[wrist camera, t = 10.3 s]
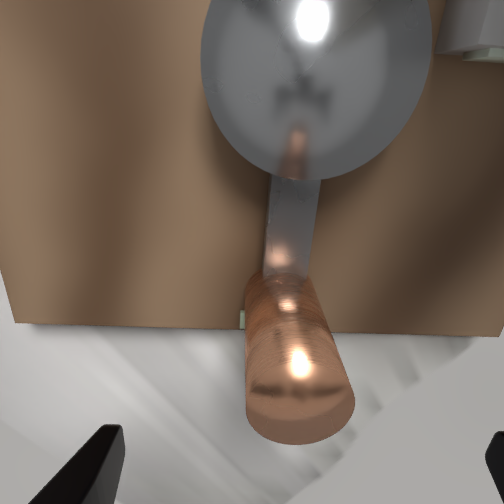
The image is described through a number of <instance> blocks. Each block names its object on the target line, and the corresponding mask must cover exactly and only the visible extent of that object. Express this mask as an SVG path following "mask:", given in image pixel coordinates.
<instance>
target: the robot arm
mask: <svg viewBox="0 0 504 504" xmlns="http://www.w3.org/2000/svg"><path fill="white" fill-rule="evenodd" d="M124 458H125V443H124V436H123V429H122V426H121V425H117V424H106V425H103V426H101V427H100V428H99V429H98V430H97V431H96V432H95V434H94V435H93V436H92V437H91V438H90V439H89V440H88V441H87V442H86V443H85V444H84V445H83V446H82V447H81V448H80V449H79V450H78V451H77V453H76V454H75V455H74V456H73V457H72V458H71V459H70V460H69V461H68V462H67V463H66V464H65V465H64V466H63V467H62V469H60V471H59V472H58V473H57V474H56V475H55V476H54V477H53V478H52V479H51V480H50V481H49V482H48V483H47V484H46V486H44V487H43V489H42V490H41V491H40V492H39V493H38V494H37V495H36V496H35V497H34V498H33V499H32V500H31V501H30V502H29V503H28V504H114V501H115V497H116V492H117V488H118V484H119V479H120V475H121V471H122V467H123V462H124ZM485 460H486V464H487V466H488V468H489V471H490V473H491V475H492V478H493V480H494V482H495V484H496V487H497V489H498V492H499V494H500V496H501V499H502V501H503V503H504V431H498V432H496V433H495V434H494V436H493V438H492V440H491V443H490V444H489V446H488V448H487V451H486V453H485Z"/></svg>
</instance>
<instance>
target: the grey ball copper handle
mask: <svg viewBox="0 0 504 504" xmlns="http://www.w3.org/2000/svg"><path fill="white" fill-rule="evenodd" d="M431 49H432V24H431V17H430V11H429V5H428V1H427V0H211V2H210V5H209V8H208V11H207V15H206V18H205V21H204V27H203V32H202V38H201V52H200V63H201V77H202V82H203V88H204V93H205V96H206V99H207V103H208V106H209V109H210V111H211V113H212V115H213V118H214V120H215V122H216V124H217V125H218V127H219V129H220V131H221V132H222V134H223V135H224V136H225V138H226V139H227V140H228V142H229V143H230V144H231V145H232V147H233V148H234V149H235V150H236V151H237V152H238V153H239V154H240V155H242V156H243V157H244V158H245V159H247V160H248V161H249V162H251V163H252V164H254V165H255V166H257V167H259V168H260V169H262V170H264V171H266V172H269V173H270V178H269V190H268V201H267V213H266V224H265V236H264V248H263V259H262V268H261V269H260V270H258V271H257V272H256V273H255V274H253V275H252V277H251V278H250V279H249V281H248V283H247V285H246V288H245V376H246V415H247V418H248V421H249V423H250V424H251V426H252V427H253V428H254V430H255V431H257V432H258V433H259V434H260V435H262V436H263V437H265V438H267V439H269V440H271V441H274V442H277V443H281V444H288V445H303V444H310V443H315V442H318V441H321V440H324V439H326V438H328V437H330V436H332V435H334V434H335V433H337V432H338V431H339V430H340V429H342V428H343V427H344V426H345V425H346V424H347V422H348V421H349V419H350V418H351V416H352V414H353V411H354V407H355V397H354V393H353V390H352V388H351V385H350V382H349V379H348V377H347V374H346V371H345V369H344V366H343V363H342V361H341V358H340V355H339V353H338V350H337V347H336V345H335V342H334V339H333V337H332V334H331V331H330V329H329V326H328V323H327V321H326V318H325V315H324V312H323V310H322V307H321V304H320V302H319V299H318V296H317V294H316V291H315V288H314V286H313V283H312V281H311V279H310V277H309V276H308V275H307V271H308V265H309V258H310V251H311V244H312V238H313V231H314V224H315V218H316V211H317V204H318V197H319V191H320V184H321V179H328V178H332V177H336V176H339V175H342V174H345V173H347V172H350V171H352V170H354V169H356V168H358V167H360V166H362V165H363V164H365V163H367V162H368V161H370V160H371V159H372V158H374V157H375V156H377V155H378V154H379V153H380V152H381V151H382V150H384V149H385V148H386V147H387V146H388V145H389V144H390V143H391V142H392V141H393V139H394V138H395V137H396V136H397V135H398V134H399V133H400V131H401V130H402V128H403V127H404V126H405V124H406V123H407V121H408V120H409V118H410V116H411V115H412V113H413V111H414V109H415V107H416V105H417V103H418V101H419V98H420V96H421V94H422V91H423V88H424V85H425V82H426V78H427V75H428V70H429V65H430V60H431Z"/></svg>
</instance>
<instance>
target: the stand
mask: <svg viewBox="0 0 504 504" xmlns="http://www.w3.org/2000/svg"><path fill="white" fill-rule="evenodd" d="M427 1H428V5H429V11H430V17H431V24H432V49H431V60H430V65H429V70H428V75H427V78H426V82H425V85H424V88H423V91H422V94H421V96H420V98H419V101H418V103H417V105H416V107H415V109H414V111H413V113H412V115H411V116H410V118H409V120H408V121H407V123H406V124H405V126H404V127H403V128H402V130H401V131H400V133H399V134H398V135H397V136H396V137H395V138H394V139H393V141H392V142H391V143H390V144H389V145H388V146H387V147H386V148H385V149H384V150H382V151H381V152H380V153H379V154H378V155H377V156H375V157H374V158H372V159H371V160H370V161H368V162H367V163H365V164H363V165H362V166H360V167H358V168H356V169H354V170H352V171H350V172H347V173H345V174H342V175H339V176H336V177H332V178H328V179H321V184H320V191H319V197H318V204H317V211H316V218H315V224H314V231H313V238H312V244H311V251H310V258H309V265H308V271H307V275H308V276H309V277H310V279H311V281H312V283H313V286H314V288H315V291H316V294H317V296H318V299H319V302H320V304H321V307H322V310H323V312H324V315H325V318H326V321H327V323H328V326H329V329H330V331H331V332H342V333H376V334H411V335H445V336H480V337H499V336H500V334H501V331H502V329H503V326H504V0H427ZM210 2H211V0H0V270H1V274H2V277H3V281H4V285H5V288H6V292H7V295H8V299H9V303H10V306H11V310H12V313H13V317H14V320H15V323H31V324H65V325H100V326H134V327H169V328H203V329H238V330H245V288H246V285H247V283H248V281H249V279H250V278H251V277H252V275H253V274H255V273H256V272H257V271H258V270H260V269H261V268H262V259H263V248H264V236H265V224H266V213H267V201H268V190H269V178H270V173H269V172H266V171H264V170H262V169H260V168H259V167H257V166H255V165H254V164H252V163H251V162H249V161H248V160H247V159H245V158H244V157H243V156H242V155H240V154H239V153H238V152H237V151H236V150H235V149H234V148H233V147H232V145H231V144H230V143H229V142H228V140H227V139H226V138H225V136H224V135H223V134H222V132H221V131H220V129H219V127H218V125H217V124H216V122H215V120H214V118H213V115H212V113H211V111H210V109H209V106H208V103H207V99H206V96H205V93H204V88H203V82H202V77H201V63H200V52H201V38H202V32H203V27H204V21H205V18H206V15H207V11H208V8H209V5H210Z"/></svg>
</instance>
